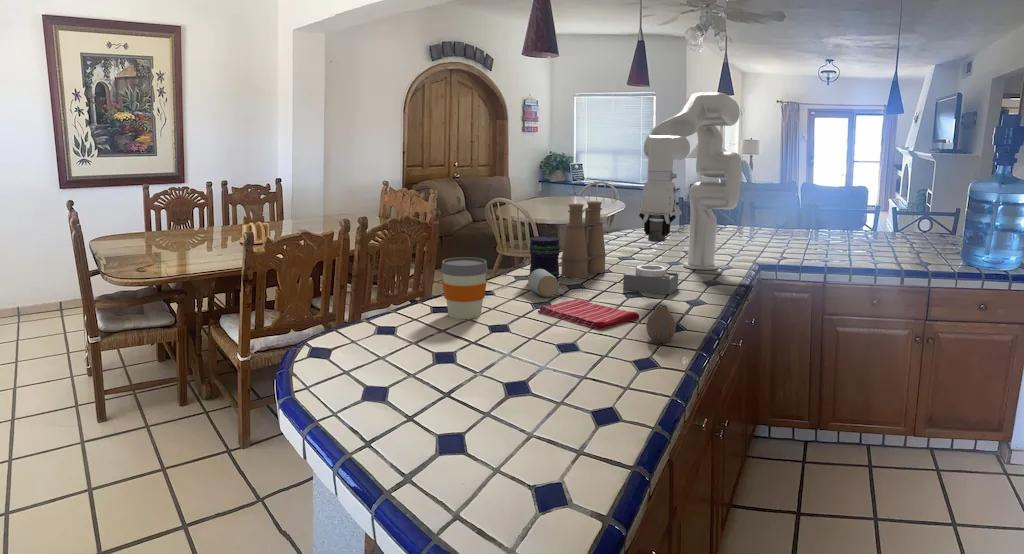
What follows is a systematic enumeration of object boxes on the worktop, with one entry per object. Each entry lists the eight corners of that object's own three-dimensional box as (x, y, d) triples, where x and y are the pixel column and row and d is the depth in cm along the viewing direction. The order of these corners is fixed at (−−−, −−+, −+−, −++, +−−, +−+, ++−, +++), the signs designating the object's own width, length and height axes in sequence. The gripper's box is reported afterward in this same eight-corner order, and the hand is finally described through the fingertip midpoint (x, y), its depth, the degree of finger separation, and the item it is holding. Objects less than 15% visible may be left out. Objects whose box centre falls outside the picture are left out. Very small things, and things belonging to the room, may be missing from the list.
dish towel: (600, 332, 173) (600, 322, 172) (536, 313, 190) (536, 304, 189) (641, 320, 184) (642, 311, 183) (578, 303, 201) (578, 295, 200)
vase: (652, 334, 169) (654, 300, 167) (679, 339, 165) (681, 305, 163) (641, 341, 164) (642, 306, 162) (668, 346, 160) (670, 311, 158)
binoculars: (577, 280, 230) (579, 206, 225) (554, 275, 237) (555, 204, 231) (611, 271, 245) (614, 202, 240) (589, 267, 251) (591, 199, 246)
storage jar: (549, 287, 220) (550, 241, 216) (523, 283, 225) (524, 238, 221) (564, 281, 228) (565, 237, 225) (538, 278, 233) (539, 235, 230)
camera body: (632, 283, 225) (633, 262, 224) (677, 288, 218) (678, 267, 217) (623, 289, 217) (623, 268, 215) (669, 294, 210) (670, 272, 208)
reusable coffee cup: (492, 319, 182) (492, 264, 179) (446, 322, 179) (445, 267, 176) (481, 307, 194) (481, 256, 191) (438, 310, 191) (437, 258, 187)
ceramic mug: (538, 299, 204) (538, 274, 202) (527, 293, 211) (528, 269, 210) (569, 296, 208) (570, 272, 206) (557, 291, 215) (558, 267, 213)
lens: (650, 238, 218) (651, 213, 216) (667, 240, 215) (668, 214, 213) (645, 241, 213) (646, 215, 211) (662, 242, 210) (664, 216, 209)
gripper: (690, 177, 209) (686, 235, 213) (636, 175, 217) (633, 231, 221) (684, 178, 203) (680, 238, 207) (629, 176, 210) (626, 234, 214)
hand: (656, 234), depth 214 cm, fingers closed on lens, 5 cm apart
